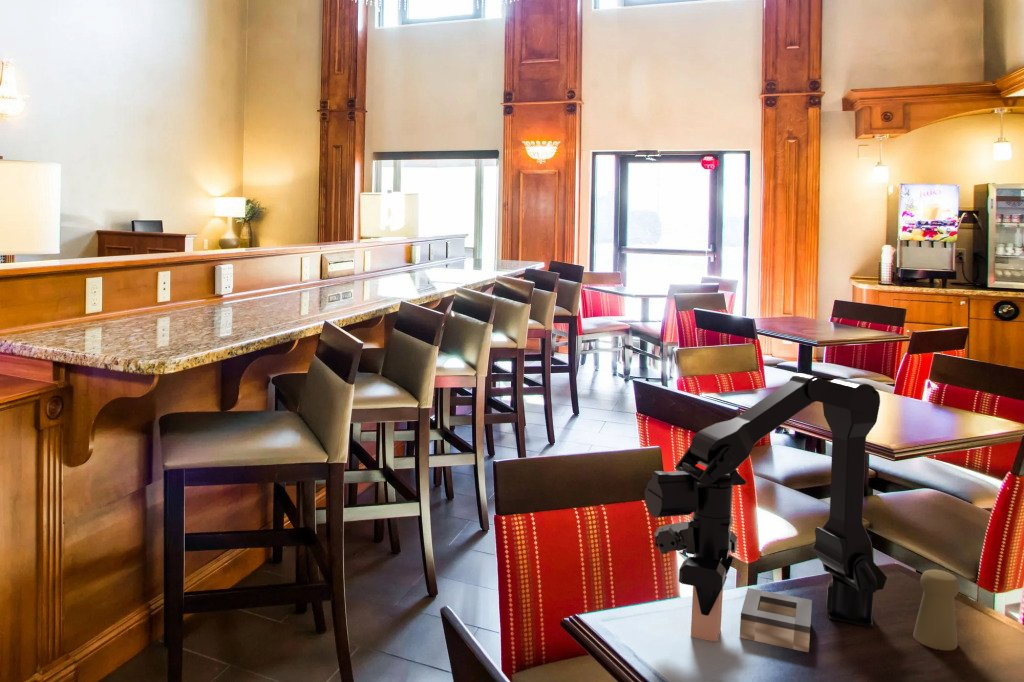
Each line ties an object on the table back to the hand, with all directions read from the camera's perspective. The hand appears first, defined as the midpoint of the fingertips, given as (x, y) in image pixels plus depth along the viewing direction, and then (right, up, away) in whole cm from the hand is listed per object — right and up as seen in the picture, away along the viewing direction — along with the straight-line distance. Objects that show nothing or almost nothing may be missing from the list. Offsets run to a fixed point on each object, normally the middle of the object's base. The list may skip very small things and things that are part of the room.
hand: (707, 608), depth 113 cm
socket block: (+11, -4, +2) cm, 12 cm away
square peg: (0, -4, 0) cm, 4 cm away
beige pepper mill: (+36, -5, 0) cm, 36 cm away
